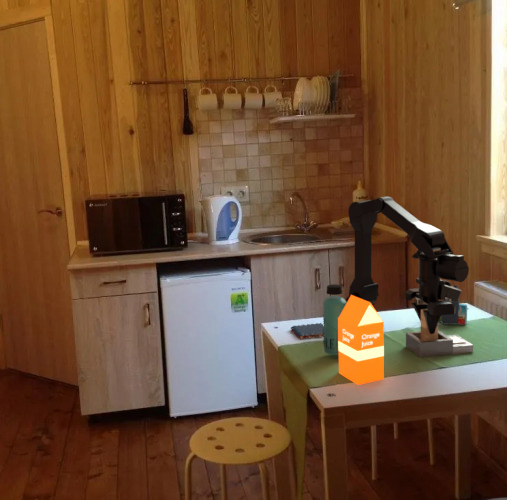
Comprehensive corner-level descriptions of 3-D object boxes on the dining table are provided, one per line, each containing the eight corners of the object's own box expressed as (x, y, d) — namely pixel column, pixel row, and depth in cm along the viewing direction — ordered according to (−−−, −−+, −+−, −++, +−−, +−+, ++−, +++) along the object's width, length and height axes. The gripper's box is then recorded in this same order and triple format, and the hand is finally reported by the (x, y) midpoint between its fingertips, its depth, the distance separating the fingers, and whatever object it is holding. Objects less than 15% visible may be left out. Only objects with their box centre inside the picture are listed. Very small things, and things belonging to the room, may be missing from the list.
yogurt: (427, 320, 201) (427, 301, 200) (429, 318, 202) (429, 300, 201) (465, 325, 194) (465, 305, 193) (466, 323, 195) (467, 304, 194)
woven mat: (333, 337, 189) (333, 331, 188) (299, 341, 187) (299, 335, 186) (322, 328, 199) (322, 321, 198) (289, 331, 197) (289, 325, 196)
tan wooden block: (425, 344, 171) (426, 312, 170) (420, 340, 175) (420, 309, 173) (438, 343, 172) (438, 311, 170) (432, 339, 175) (432, 308, 174)
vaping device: (459, 324, 195) (460, 286, 192) (441, 324, 195) (442, 286, 193) (458, 321, 197) (458, 284, 195) (440, 321, 198) (441, 284, 196)
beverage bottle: (350, 354, 173) (349, 283, 169) (343, 362, 167) (342, 288, 163) (328, 351, 176) (326, 281, 172) (320, 359, 170) (318, 287, 166)
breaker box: (420, 357, 168) (420, 343, 167) (405, 346, 177) (405, 332, 177) (473, 352, 171) (473, 337, 170) (456, 341, 180) (456, 327, 179)
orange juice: (357, 385, 152) (356, 304, 148) (338, 373, 160) (337, 296, 156) (384, 379, 155) (384, 300, 151) (364, 367, 163) (363, 292, 159)
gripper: (475, 281, 162) (473, 339, 165) (441, 267, 180) (441, 319, 183) (434, 284, 160) (433, 343, 163) (404, 269, 178) (404, 322, 181)
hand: (428, 331), depth 173 cm, fingers closed on tan wooden block, 3 cm apart
